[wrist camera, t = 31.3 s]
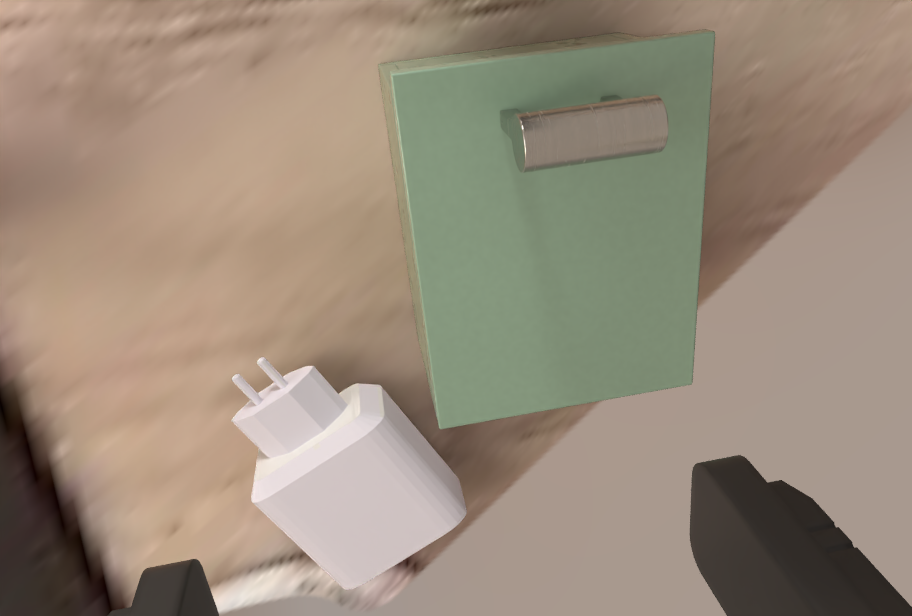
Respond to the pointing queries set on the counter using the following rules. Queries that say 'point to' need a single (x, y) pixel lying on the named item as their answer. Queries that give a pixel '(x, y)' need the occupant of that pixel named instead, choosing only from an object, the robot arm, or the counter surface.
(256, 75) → the counter surface
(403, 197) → the bin
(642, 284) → the lid
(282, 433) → the charger
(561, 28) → the counter surface
